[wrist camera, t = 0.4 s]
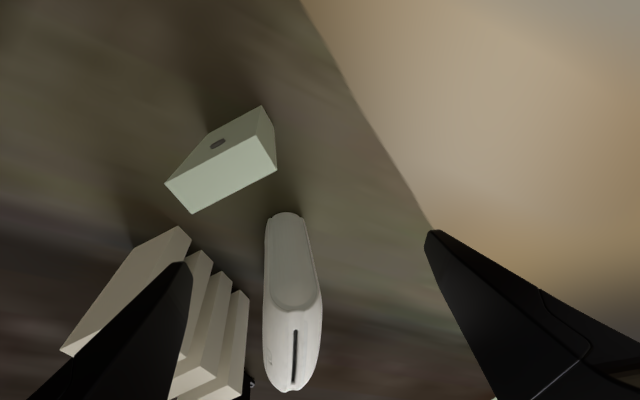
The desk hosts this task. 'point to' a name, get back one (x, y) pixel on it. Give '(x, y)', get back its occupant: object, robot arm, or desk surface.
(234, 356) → the domino
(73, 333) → the domino
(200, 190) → the domino
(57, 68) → the desk surface
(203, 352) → the domino
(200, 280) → the domino
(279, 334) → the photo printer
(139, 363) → the robot arm
